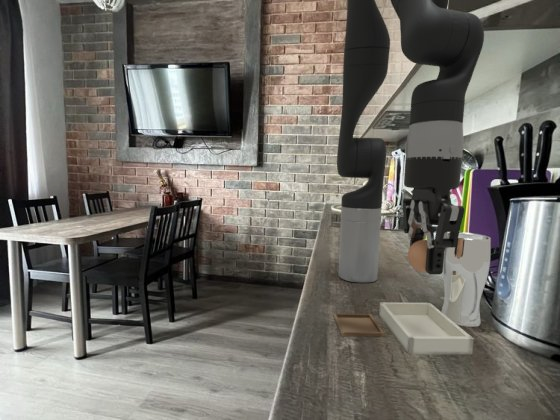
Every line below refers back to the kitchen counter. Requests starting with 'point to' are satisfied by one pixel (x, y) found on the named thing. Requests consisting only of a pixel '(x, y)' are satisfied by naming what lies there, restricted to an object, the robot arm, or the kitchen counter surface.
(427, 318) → the tray
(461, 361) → the kitchen counter surface
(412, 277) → the kitchen counter surface
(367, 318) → the holder
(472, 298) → the beer glass
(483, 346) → the kitchen counter surface
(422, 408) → the kitchen counter surface
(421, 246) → the egg
